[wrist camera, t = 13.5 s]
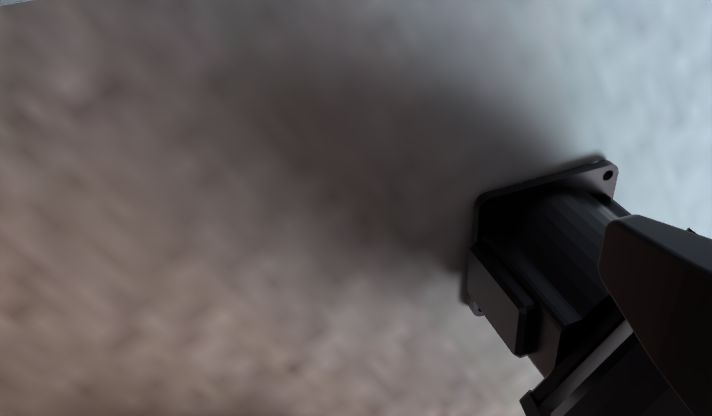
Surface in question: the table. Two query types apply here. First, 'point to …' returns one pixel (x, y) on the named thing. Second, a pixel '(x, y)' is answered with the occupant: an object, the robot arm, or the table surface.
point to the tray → (11, 2)
